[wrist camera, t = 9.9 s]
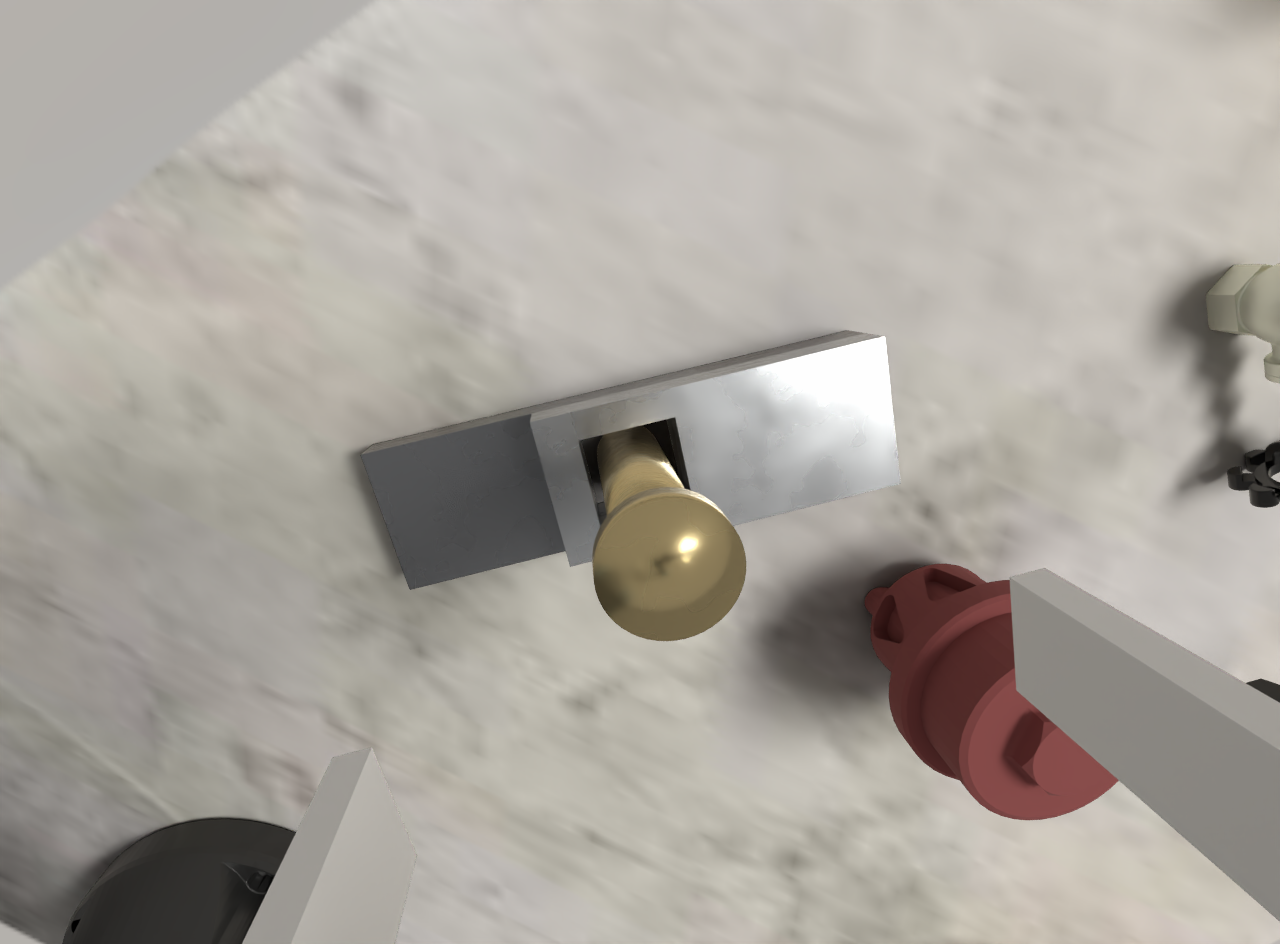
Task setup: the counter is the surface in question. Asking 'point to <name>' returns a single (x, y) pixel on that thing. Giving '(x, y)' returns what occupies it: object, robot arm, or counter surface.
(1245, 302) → the valve
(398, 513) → the plate with square socket
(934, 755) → the mechanical component
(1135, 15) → the counter surface
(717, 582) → the brass knob
